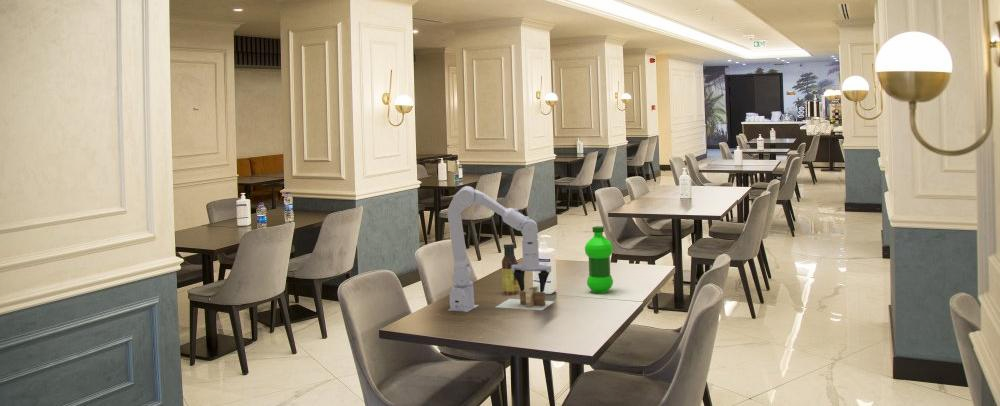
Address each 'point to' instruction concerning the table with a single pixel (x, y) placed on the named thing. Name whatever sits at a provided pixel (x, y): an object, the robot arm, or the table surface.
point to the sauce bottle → (509, 271)
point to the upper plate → (531, 295)
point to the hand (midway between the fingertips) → (532, 291)
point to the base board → (516, 305)
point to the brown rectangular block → (537, 298)
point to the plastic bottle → (599, 261)
